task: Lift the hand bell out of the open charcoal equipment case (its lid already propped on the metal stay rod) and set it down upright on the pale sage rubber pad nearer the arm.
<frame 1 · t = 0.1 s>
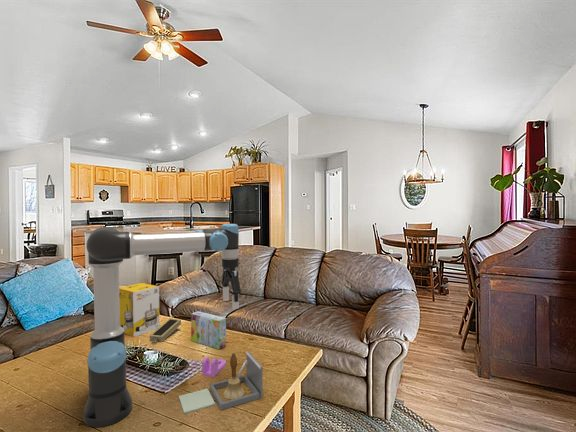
hand: (230, 304, 150), 28 cm above the table, fingers open, 13 cm apart
hand bell: (234, 394, 128), resting in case
pad: (196, 401, 123), on the table
bracket: (215, 369, 147), on the table
snack box: (208, 343, 174), on the table
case: (234, 393, 128), on the table
box: (164, 336, 184), on the table
packaging box: (138, 329, 193), on the table
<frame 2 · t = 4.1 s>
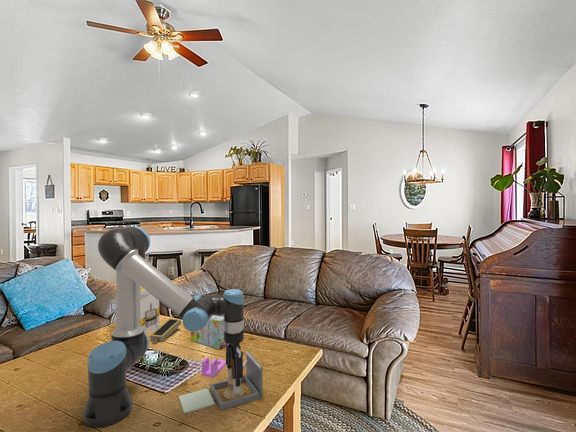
hand: (234, 388, 128), 2 cm above the table, fingers closed on hand bell, 6 cm apart
hand bell: (234, 394, 128), resting in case, touching gripper
everything else where it was.
when the fingers open (4 cm above the table, at t = 11.0 s): hand bell drops 1 cm, resting on pad.
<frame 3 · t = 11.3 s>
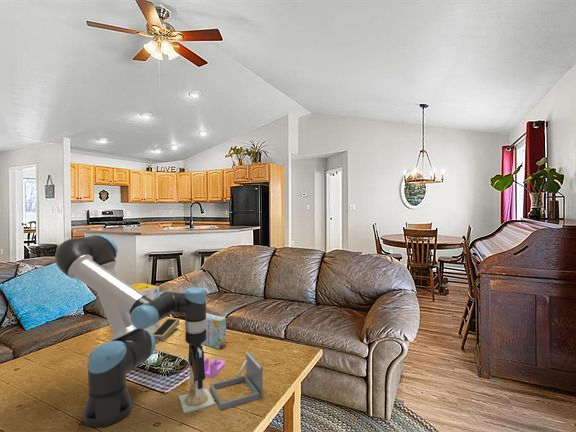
hand: (196, 389, 123), 5 cm above the table, fingers open, 9 cm apart
hand bell: (196, 399, 123), resting on pad
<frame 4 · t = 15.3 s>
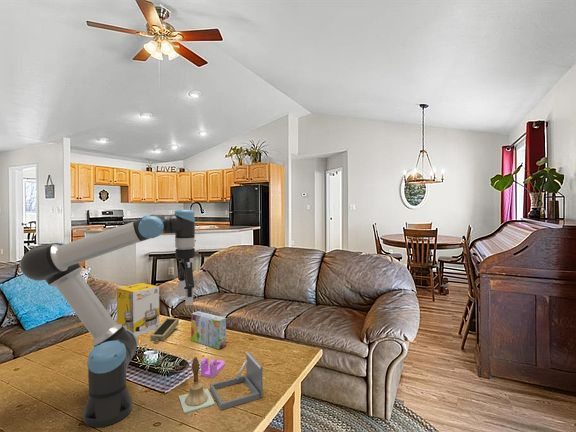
hand: (185, 300, 133), 35 cm above the table, fingers open, 13 cm apart
at the end: hand bell inside the target area on the pad (0.1 cm from its centre), point 0.4 cm above the pad's base; hand bell tilted 0°; the gripper is holding nothing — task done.
